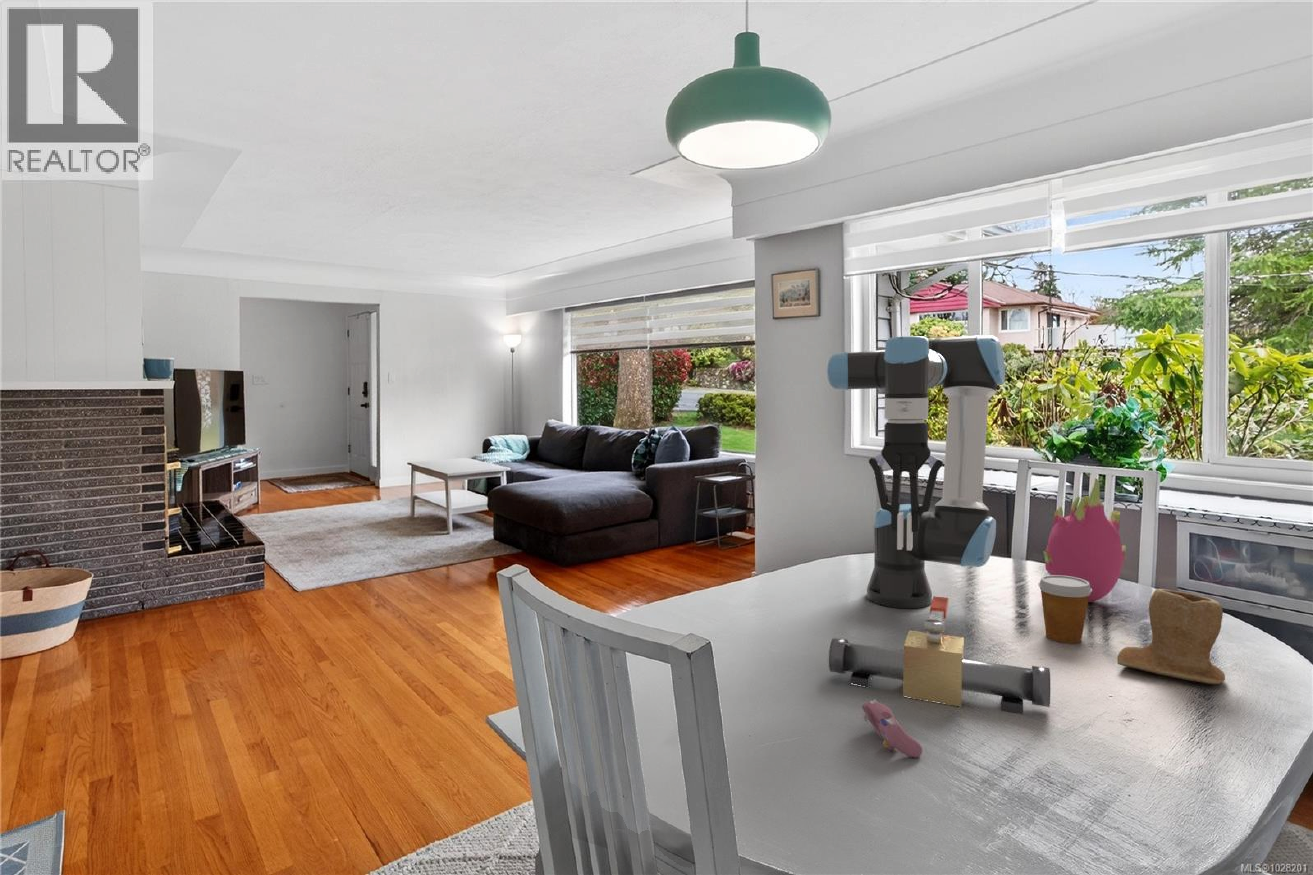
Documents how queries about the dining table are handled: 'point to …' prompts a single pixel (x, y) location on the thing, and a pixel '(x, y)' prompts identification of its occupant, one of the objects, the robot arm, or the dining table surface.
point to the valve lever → (937, 615)
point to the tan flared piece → (1179, 638)
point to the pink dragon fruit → (1087, 545)
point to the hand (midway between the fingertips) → (904, 548)
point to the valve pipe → (940, 671)
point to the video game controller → (890, 729)
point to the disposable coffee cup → (1064, 606)
